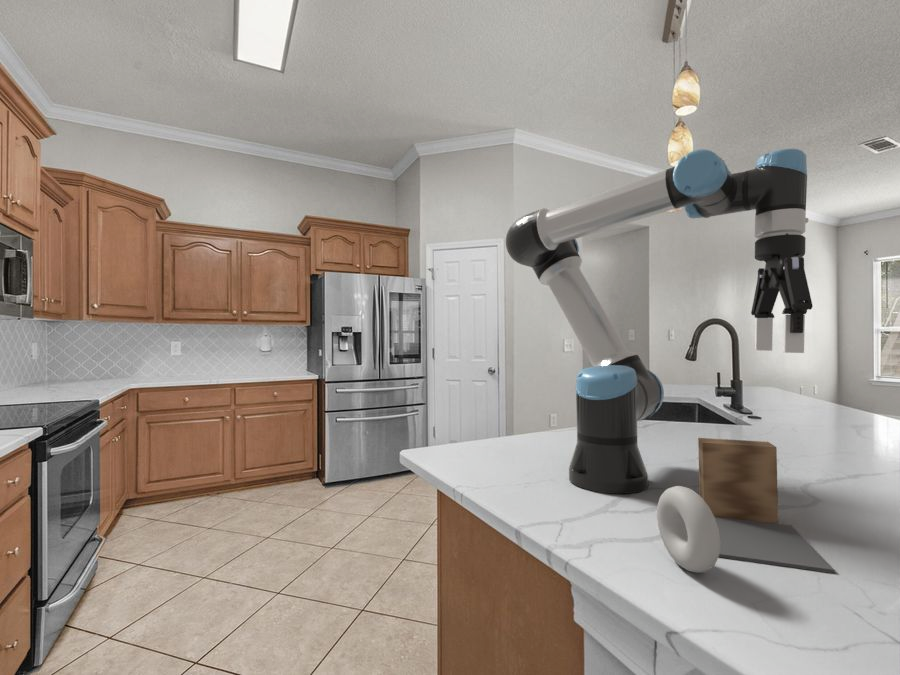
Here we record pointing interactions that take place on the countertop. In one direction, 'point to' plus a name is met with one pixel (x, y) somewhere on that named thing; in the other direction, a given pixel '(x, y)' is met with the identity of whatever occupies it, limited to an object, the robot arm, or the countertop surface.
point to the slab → (739, 479)
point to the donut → (688, 529)
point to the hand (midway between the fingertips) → (777, 351)
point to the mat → (768, 544)
